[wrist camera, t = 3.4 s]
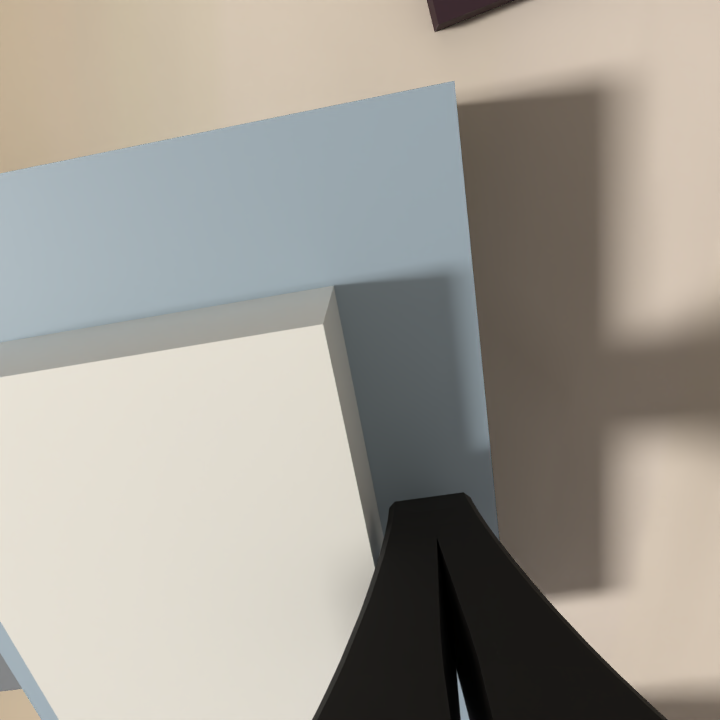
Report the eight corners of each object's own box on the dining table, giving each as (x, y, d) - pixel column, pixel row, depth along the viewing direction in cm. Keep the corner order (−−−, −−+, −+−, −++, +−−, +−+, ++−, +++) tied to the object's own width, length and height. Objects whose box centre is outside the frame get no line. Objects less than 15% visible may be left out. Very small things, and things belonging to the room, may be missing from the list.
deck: (482, 602, 16) (519, 741, 12) (146, 643, 16) (82, 784, 13) (423, 109, 11) (454, 80, 7) (-58, 205, 11) (-265, 227, 8)
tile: (411, 679, 11) (420, 783, 9) (154, 706, 12) (112, 811, 10) (333, 285, 8) (323, 324, 6) (-21, 346, 8) (-132, 399, 6)
